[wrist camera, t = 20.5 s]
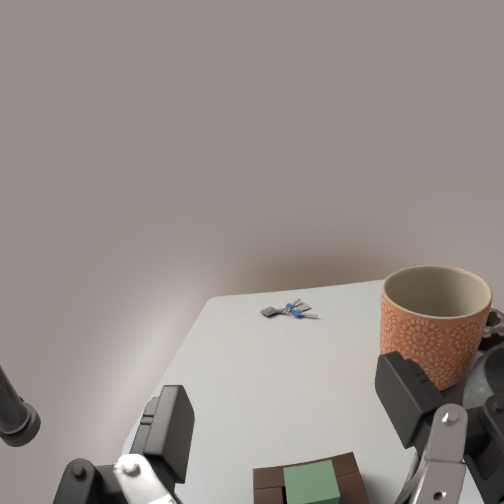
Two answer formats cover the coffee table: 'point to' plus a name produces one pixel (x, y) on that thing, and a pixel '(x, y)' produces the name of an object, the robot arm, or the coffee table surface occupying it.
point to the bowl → (485, 378)
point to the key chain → (297, 309)
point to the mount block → (272, 478)
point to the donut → (493, 329)
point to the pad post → (312, 484)
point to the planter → (435, 319)
